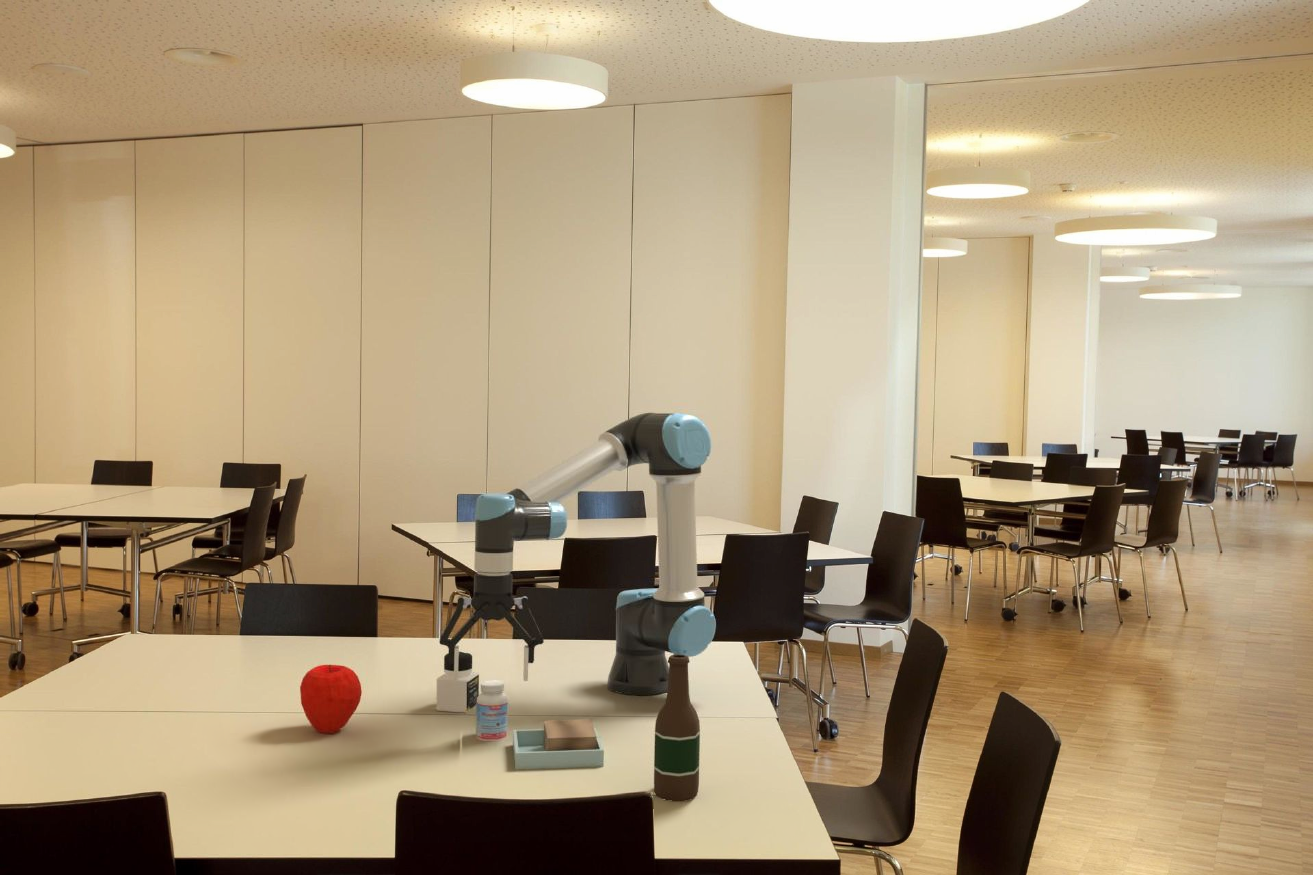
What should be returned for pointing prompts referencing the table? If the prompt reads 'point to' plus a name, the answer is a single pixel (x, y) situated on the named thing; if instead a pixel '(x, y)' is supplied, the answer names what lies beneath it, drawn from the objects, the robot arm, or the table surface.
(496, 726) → the pill bottle
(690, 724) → the beer bottle
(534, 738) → the light blue tray
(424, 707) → the table surface
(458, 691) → the medicine bottle
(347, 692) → the apple
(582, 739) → the walnut block
